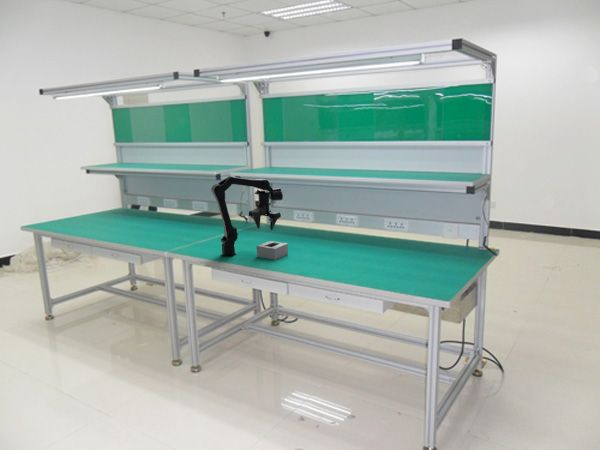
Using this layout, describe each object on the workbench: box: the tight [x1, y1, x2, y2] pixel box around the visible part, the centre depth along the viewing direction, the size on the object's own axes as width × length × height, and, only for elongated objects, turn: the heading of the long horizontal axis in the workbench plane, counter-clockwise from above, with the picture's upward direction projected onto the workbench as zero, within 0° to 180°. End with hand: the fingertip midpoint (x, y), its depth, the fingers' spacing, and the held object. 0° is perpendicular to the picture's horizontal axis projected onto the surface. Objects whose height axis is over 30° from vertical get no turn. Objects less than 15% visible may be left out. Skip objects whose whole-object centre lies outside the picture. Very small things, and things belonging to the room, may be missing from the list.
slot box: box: [256, 240, 289, 261], centre depth 249 cm, size 12×12×6 cm
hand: (265, 229), depth 259 cm, fingers open, 9 cm apart
